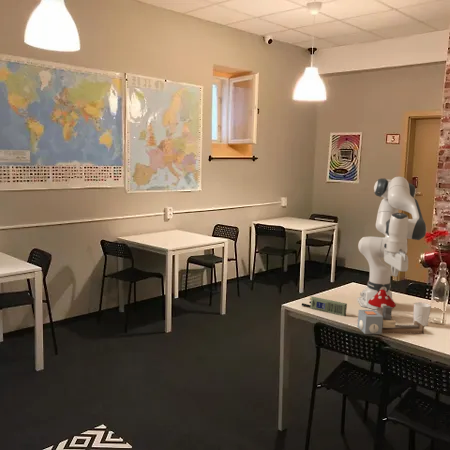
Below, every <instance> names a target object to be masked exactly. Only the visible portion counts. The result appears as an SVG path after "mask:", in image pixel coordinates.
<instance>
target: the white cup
mask: <svg viewBox="0 0 450 450" xmlns="http://www.w3.org/2000/svg"><path fill="white" fill-rule="evenodd" d="M431 308H432V307H431V304H430V303H426V302H421V301H420V302H419V301H417V302H416V301H415V302H414V303H413V315H412V316H413V323H414V321H417V322H419V323H420V324H421V325H423V326H424V327H425V326H428V325H429V320H430V314H431Z"/></svg>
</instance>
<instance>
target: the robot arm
mask: <svg viewBox="0 0 450 450" xmlns="http://www.w3.org/2000/svg"><path fill="white" fill-rule="evenodd" d="M373 190H374V191H373V193H374V194H375V196H377V197H379V198H382V200H380V204H379V205H378V209H377V214H376V221H375V229H376V231H377V232H379V233H381V234H383V235H384V237H380V236H370V235H369V236H363V237H362V238H360V240H359V241H358V245H357V248H358V252H360V254H361V255H362V256H364V258H365V259H366V262H367V263H368V267H369V268H368V269H369V277H368V281H367V285H366V287H365V288H364V289H362V291H361V292H360V296H359V297H357V302H358V304H359V305H360V306H361V307H363V308H368V309H370V310H375V311H376V310H377V308H378V307H375V306H372V305H370V304H369V303H368V301H369V300H370V299H371V298H372V297H373V296H375V295H376V294H377V293H378V292H379V291H380V290H382V289H383V290H385V291H386V292H387V293H388V295H389V296H390V298H392V299H393V292H392V291H391V287H392V284H391V275H392V276H393V277H394V278H395V277H399V276H398V275H399V272H408V270H409V257H408V254H407V253H408V239H411V240H415V241H420V240H422V239H423V238H425V236H426V235H427V225H426V221H425V220H424V217H423V214H422V211H421V206H420V205H419V202H418V201H417V199H416V198H415V196H416V186H415V185H414V184H412V183H411V182H410V183H409V181H408V180H407V179H406V178H405V177H404V176H395V177H393V178H392V179H389V178H388V179H387V178H385V177H383V178H381V177H380V178H378V179H377V180H376V182H375V183H374V186H373ZM399 211H402V212H399ZM403 211H404V212H406V213H409V214H410V215H411V217H412V218H409V215H408V214H406V213H403ZM381 258H383V260H384V262H385V263H384V262H383V261H382V260H381ZM387 264H388V265H387Z"/></svg>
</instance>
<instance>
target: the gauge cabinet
mask: <svg viewBox="0 0 450 450" xmlns="http://www.w3.org/2000/svg"><path fill="white" fill-rule="evenodd" d="M365 311H373V312H374V313H376V315H367V314H366V313H365ZM382 323H383V316H382V315H380V314H379V313H378V312H377V311H376V309H358V314H357V326H356V327H357V328H358V329H359V330H360V331H361V332H363V334H364V335H382V334H383V333H382Z"/></svg>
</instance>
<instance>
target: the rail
mask: <svg viewBox="0 0 450 450" xmlns="http://www.w3.org/2000/svg"><path fill="white" fill-rule="evenodd" d="M424 332H425V326H423V325H421V324H420V323H419V322H417V321H414V322H413V324H395V328H385V327H382V334H413V335H414V334H415V335H417V334H418V335H419V334H420V335H421V334H423V335H424Z"/></svg>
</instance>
